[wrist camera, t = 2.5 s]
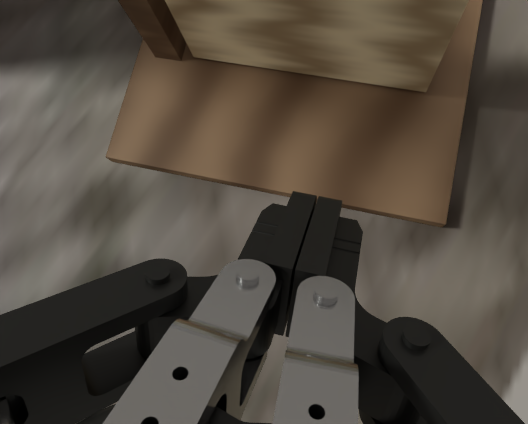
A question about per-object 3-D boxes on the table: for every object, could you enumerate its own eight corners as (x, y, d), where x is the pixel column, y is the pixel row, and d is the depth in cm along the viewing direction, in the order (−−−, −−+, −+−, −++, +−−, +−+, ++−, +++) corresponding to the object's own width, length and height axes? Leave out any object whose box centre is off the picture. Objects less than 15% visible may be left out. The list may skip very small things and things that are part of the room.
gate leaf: (188, 59, 32) (110, -88, 20) (196, 34, 32) (123, -125, 21) (430, 96, 29) (502, -51, 17) (435, 68, 30) (509, -94, 18)
